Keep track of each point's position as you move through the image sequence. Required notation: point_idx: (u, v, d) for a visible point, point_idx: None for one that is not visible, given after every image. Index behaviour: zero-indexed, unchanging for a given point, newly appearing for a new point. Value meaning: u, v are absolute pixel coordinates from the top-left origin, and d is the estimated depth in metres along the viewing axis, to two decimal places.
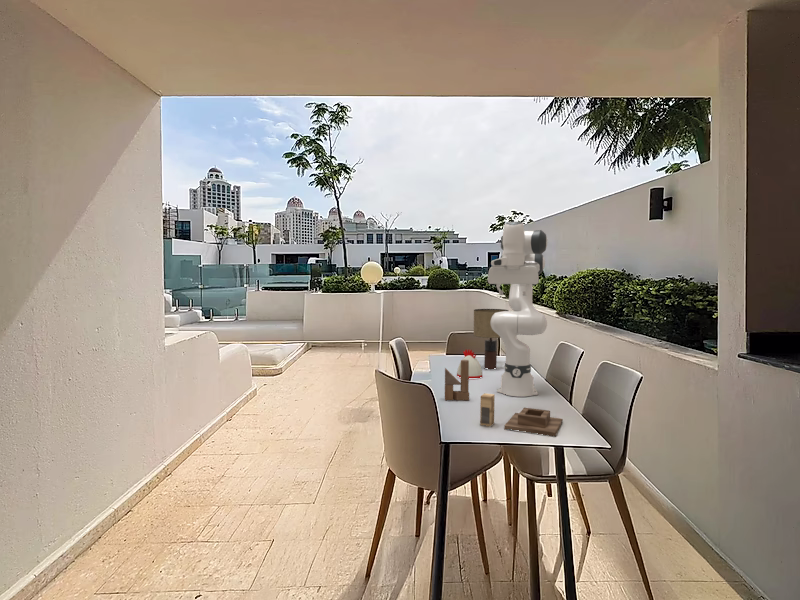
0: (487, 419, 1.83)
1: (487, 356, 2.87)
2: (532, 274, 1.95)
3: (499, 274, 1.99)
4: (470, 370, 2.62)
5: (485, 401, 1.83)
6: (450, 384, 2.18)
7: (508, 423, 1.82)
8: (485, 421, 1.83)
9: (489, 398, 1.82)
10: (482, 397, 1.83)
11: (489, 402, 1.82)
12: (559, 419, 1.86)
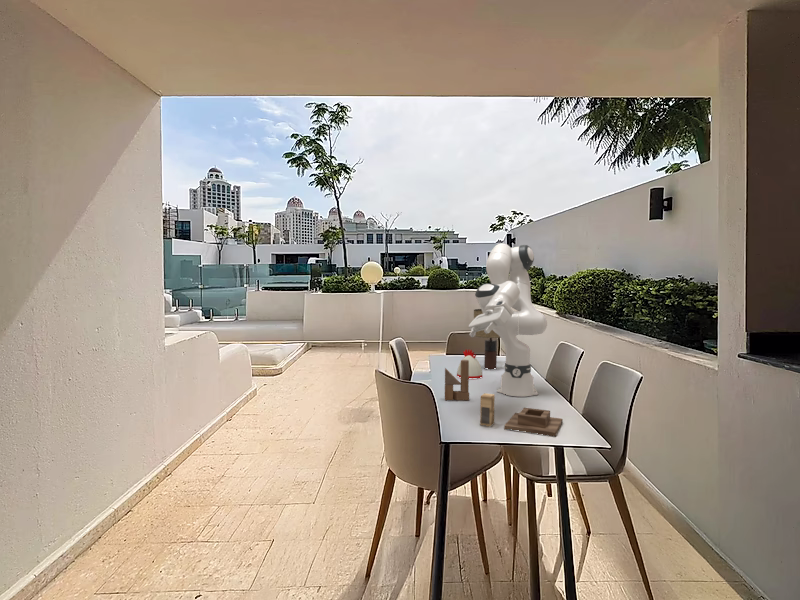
0: (487, 419, 1.83)
1: (487, 356, 2.87)
2: None
3: None
4: (470, 370, 2.62)
5: (485, 401, 1.83)
6: (450, 384, 2.18)
7: (508, 423, 1.82)
8: (485, 421, 1.83)
9: (489, 398, 1.82)
10: (482, 397, 1.83)
11: (489, 402, 1.82)
12: (559, 419, 1.86)
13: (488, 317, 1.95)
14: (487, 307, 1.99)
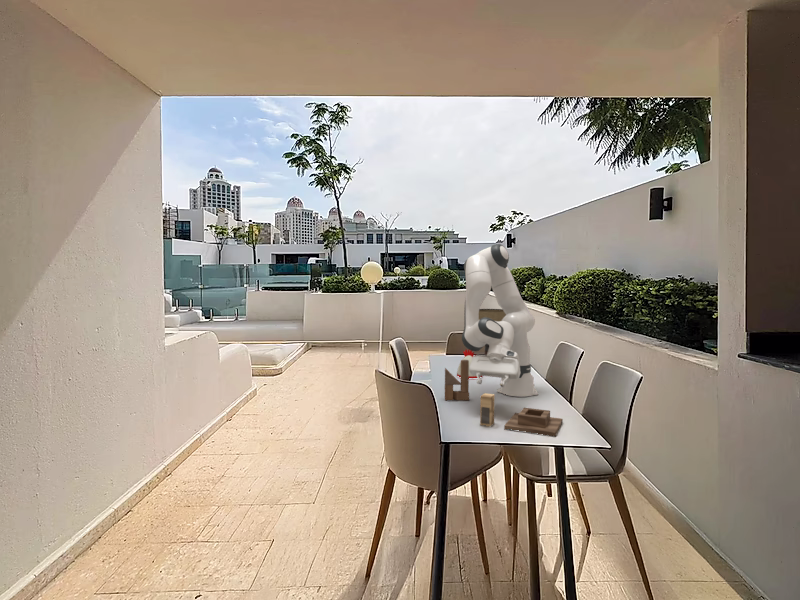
0: (487, 419, 1.83)
1: None
2: None
3: None
4: None
5: (485, 401, 1.83)
6: (450, 384, 2.18)
7: (508, 423, 1.82)
8: (485, 421, 1.83)
9: (489, 398, 1.82)
10: (482, 397, 1.83)
11: (489, 402, 1.82)
12: (559, 419, 1.86)
13: (498, 367, 1.95)
14: (494, 354, 1.97)
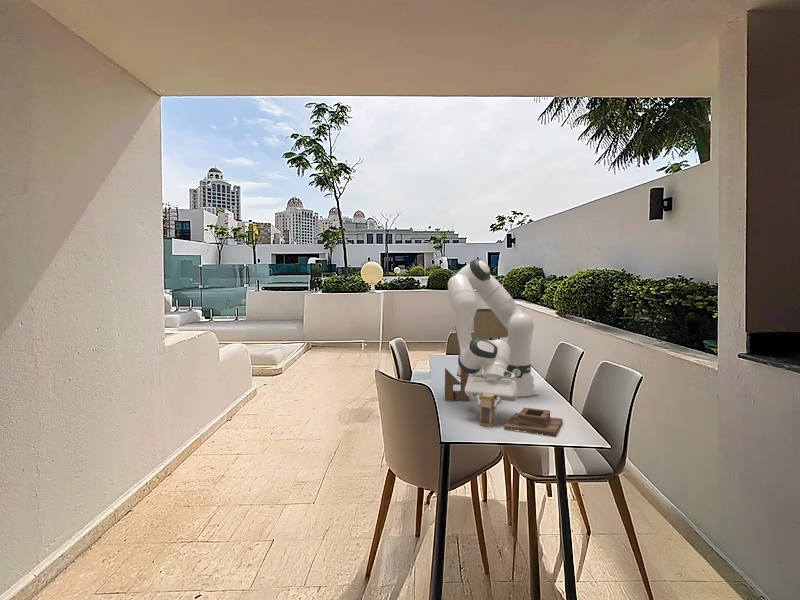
0: (487, 419, 1.83)
1: None
2: None
3: None
4: None
5: (485, 401, 1.83)
6: (450, 384, 2.18)
7: (508, 423, 1.82)
8: (485, 421, 1.83)
9: (489, 398, 1.82)
10: (482, 397, 1.83)
11: (489, 402, 1.82)
12: (559, 419, 1.86)
13: (495, 388, 1.87)
14: (490, 374, 1.90)
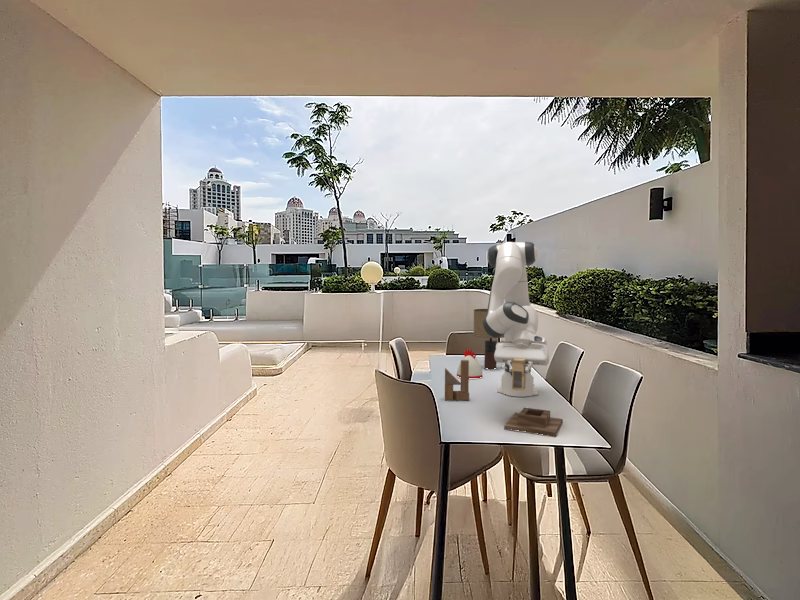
0: (519, 383, 1.80)
1: (487, 356, 2.87)
2: None
3: None
4: (470, 370, 2.62)
5: (517, 365, 1.80)
6: (450, 384, 2.18)
7: (508, 423, 1.82)
8: (517, 385, 1.80)
9: (521, 362, 1.79)
10: (514, 361, 1.81)
11: (521, 366, 1.79)
12: (559, 419, 1.86)
13: (526, 353, 1.84)
14: (520, 339, 1.87)
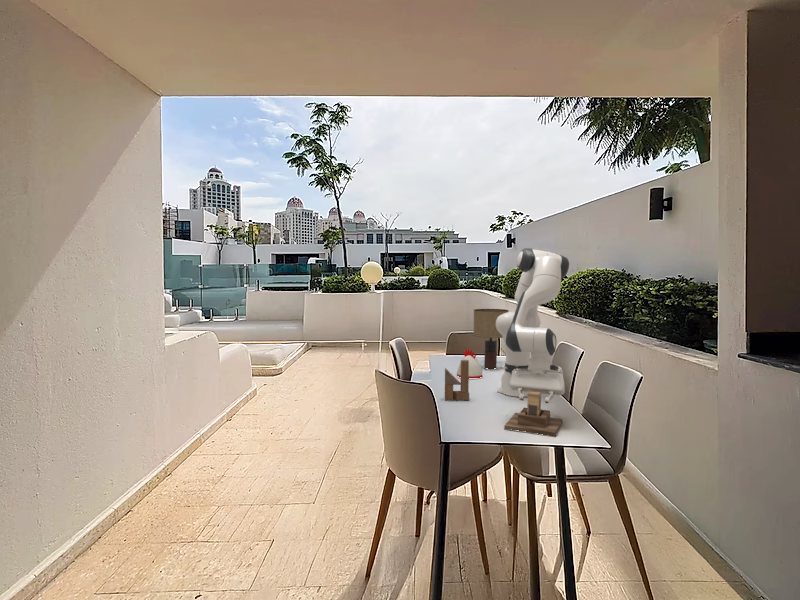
0: None
1: (487, 356, 2.87)
2: None
3: None
4: (470, 370, 2.62)
5: (532, 399, 1.80)
6: (450, 384, 2.18)
7: (508, 423, 1.82)
8: None
9: (537, 396, 1.80)
10: (529, 395, 1.81)
11: (537, 400, 1.80)
12: (559, 419, 1.86)
13: (542, 382, 1.84)
14: (536, 368, 1.87)
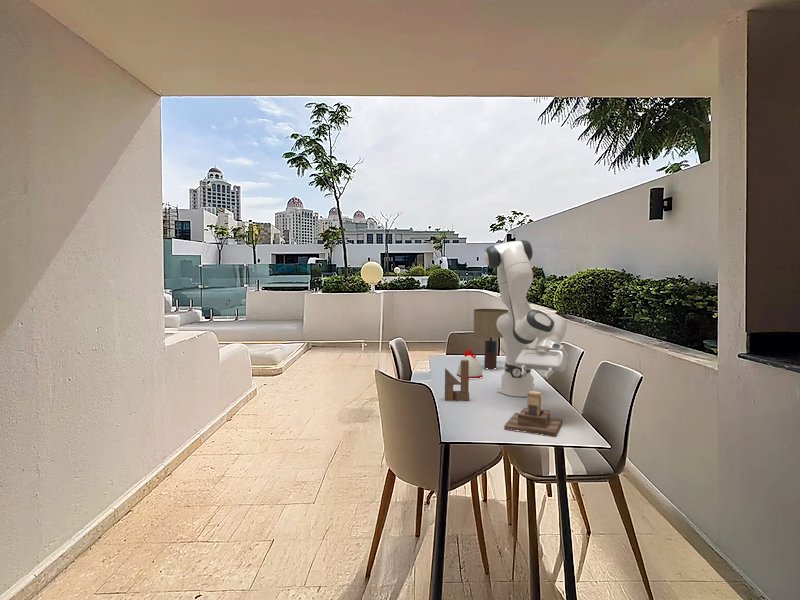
0: None
1: (487, 356, 2.87)
2: None
3: None
4: (470, 370, 2.62)
5: (532, 399, 1.80)
6: (450, 384, 2.18)
7: (508, 423, 1.82)
8: None
9: (537, 396, 1.80)
10: (529, 395, 1.81)
11: (537, 400, 1.80)
12: (559, 419, 1.86)
13: (543, 359, 1.92)
14: (540, 346, 1.95)
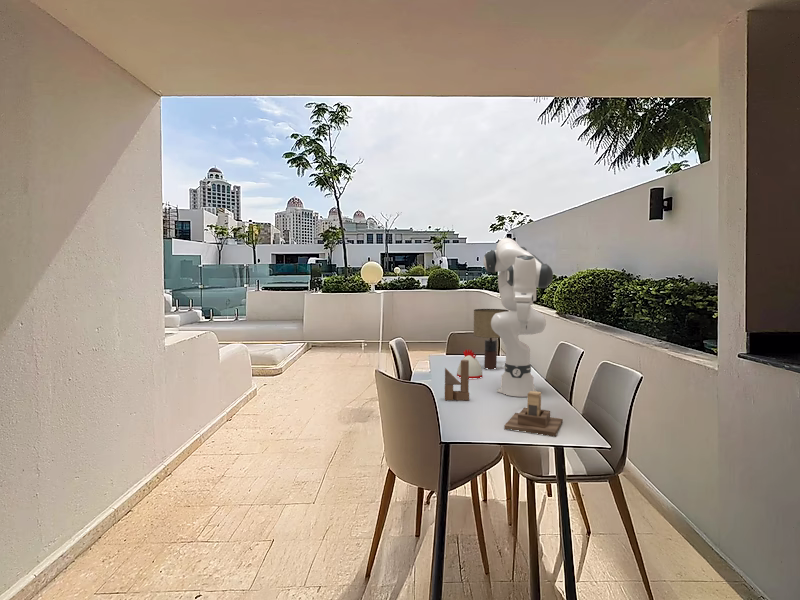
0: None
1: (487, 356, 2.87)
2: (530, 308, 2.01)
3: None
4: (470, 370, 2.62)
5: (532, 399, 1.80)
6: (450, 384, 2.18)
7: (508, 423, 1.82)
8: None
9: (537, 396, 1.80)
10: (529, 395, 1.81)
11: (537, 400, 1.80)
12: (559, 419, 1.86)
13: None
14: None
